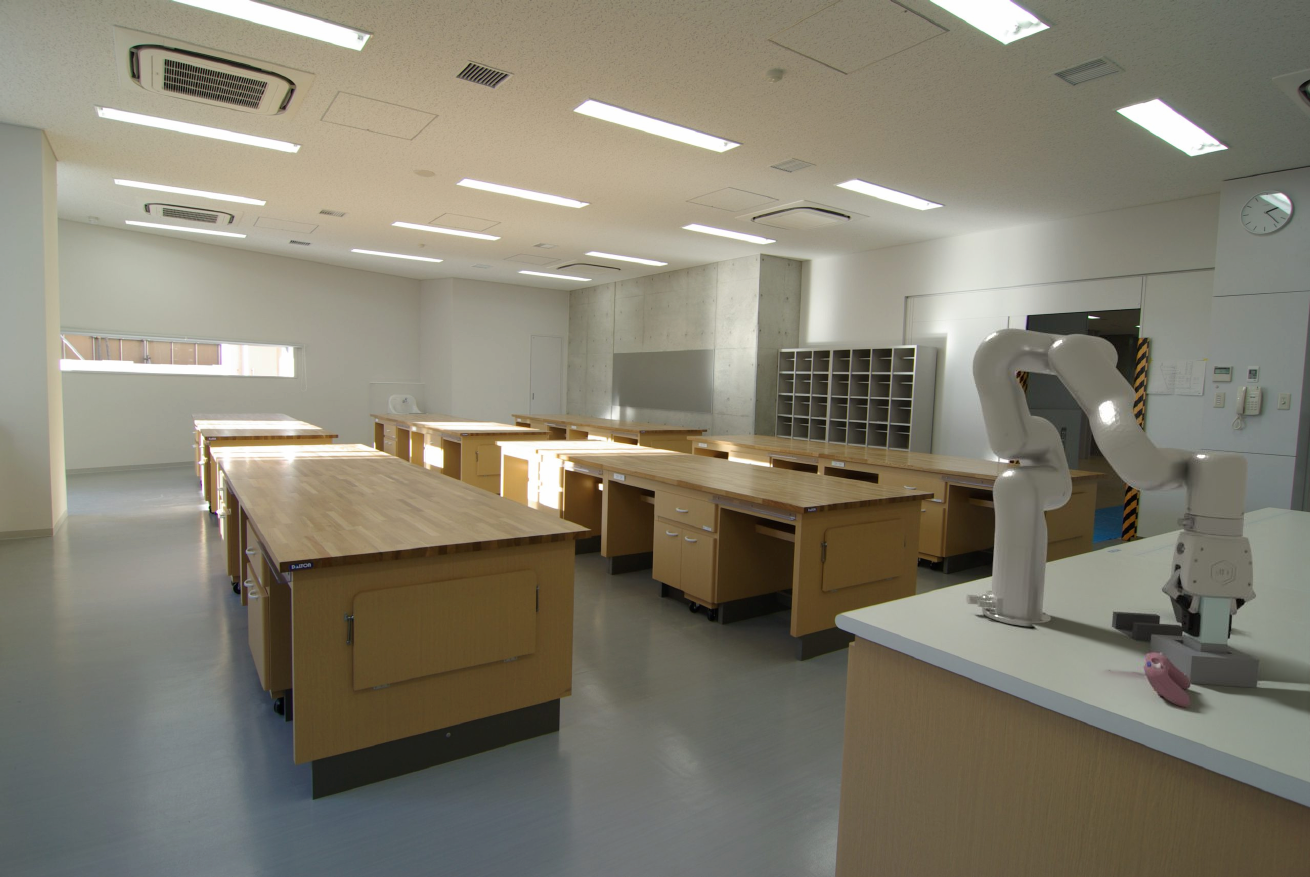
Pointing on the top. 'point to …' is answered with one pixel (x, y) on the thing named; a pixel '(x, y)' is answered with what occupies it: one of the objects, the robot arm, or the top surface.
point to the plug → (1211, 626)
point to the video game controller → (1167, 679)
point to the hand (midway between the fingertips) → (1205, 634)
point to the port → (1208, 663)
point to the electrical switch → (1177, 609)
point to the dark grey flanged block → (1143, 625)
